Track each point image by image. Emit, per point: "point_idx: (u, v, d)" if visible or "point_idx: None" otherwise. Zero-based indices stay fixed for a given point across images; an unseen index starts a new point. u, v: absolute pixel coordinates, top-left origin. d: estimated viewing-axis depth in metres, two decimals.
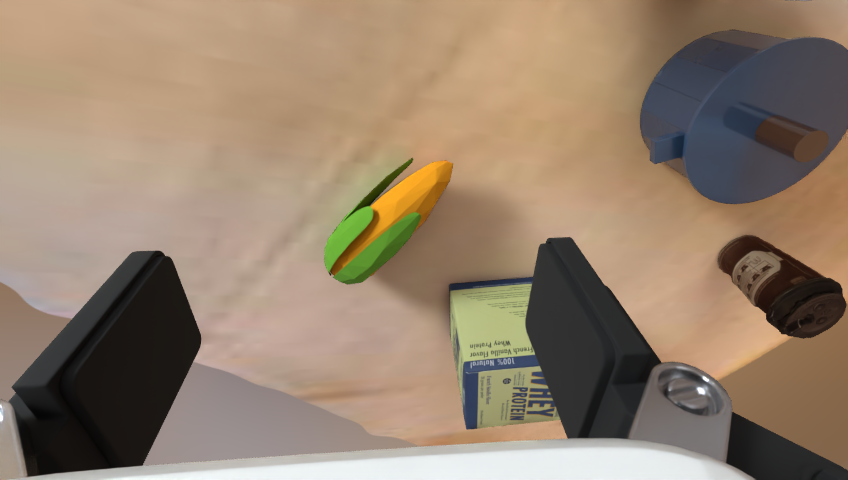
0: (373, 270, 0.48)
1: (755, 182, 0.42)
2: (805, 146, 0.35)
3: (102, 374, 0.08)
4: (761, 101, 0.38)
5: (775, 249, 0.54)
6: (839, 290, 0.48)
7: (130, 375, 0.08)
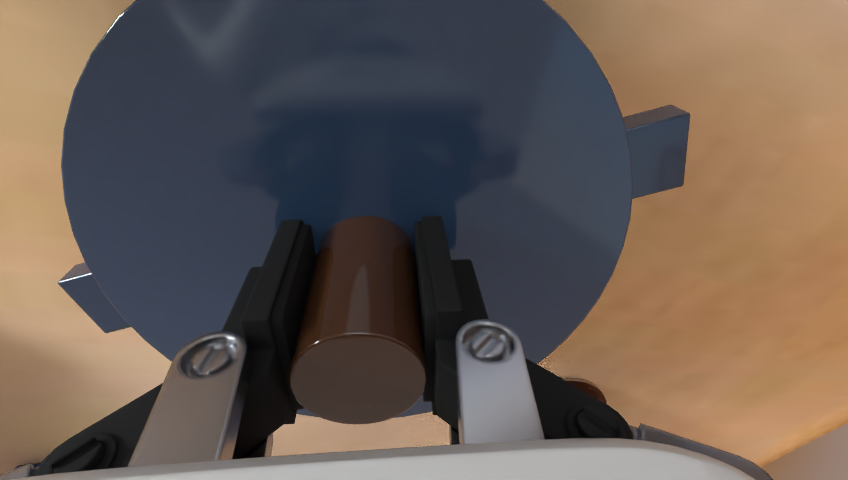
0: None
1: None
2: (330, 383, 0.09)
3: (291, 316, 0.09)
4: (277, 176, 0.11)
5: None
6: None
7: (300, 322, 0.10)
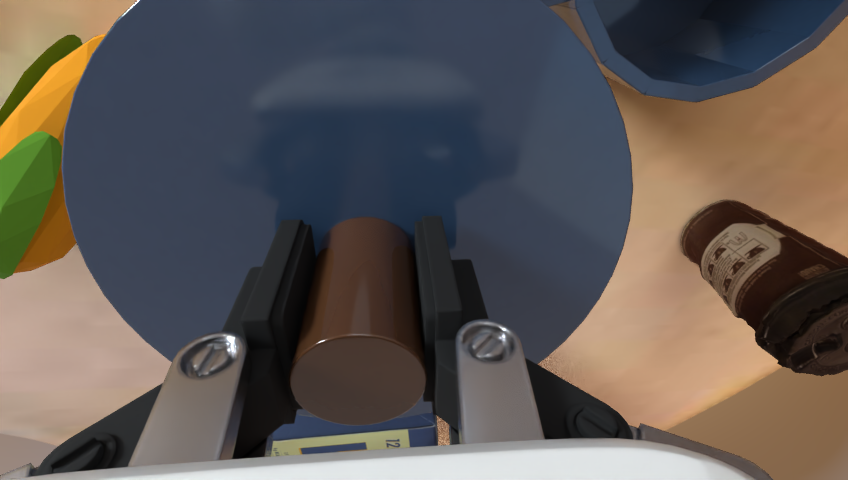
0: (15, 252, 0.25)
1: None
2: (331, 385, 0.09)
3: (291, 317, 0.09)
4: (277, 177, 0.11)
5: (772, 220, 0.32)
6: None
7: (300, 322, 0.10)
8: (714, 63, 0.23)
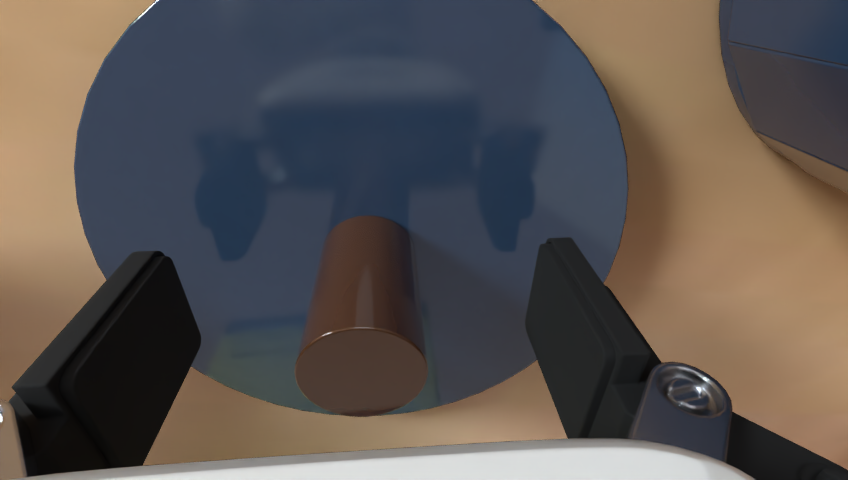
0: None
1: None
2: (335, 376, 0.09)
3: (102, 374, 0.08)
4: (283, 177, 0.11)
5: None
6: None
7: (130, 375, 0.08)
8: None
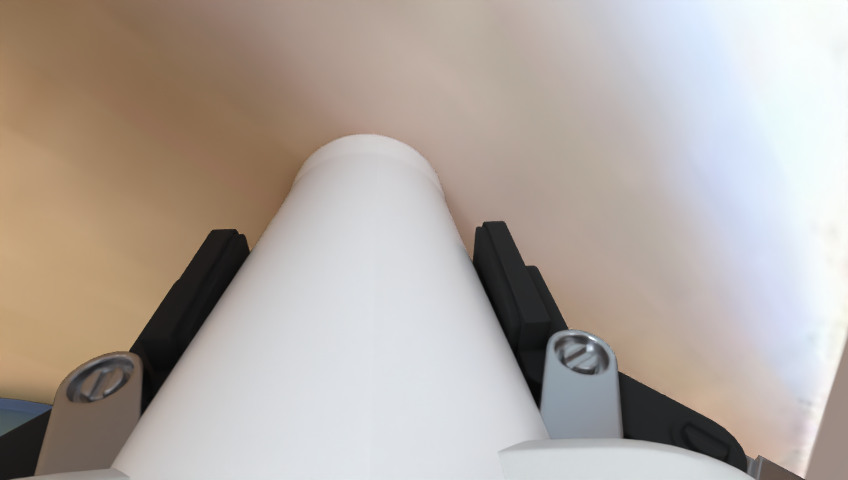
0: None
1: None
2: None
3: None
4: None
5: None
6: None
7: None
8: None
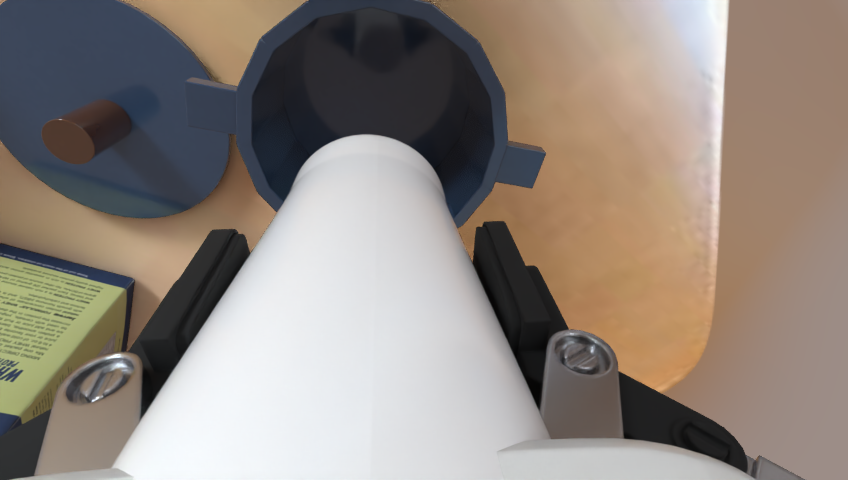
0: None
1: (114, 189, 0.32)
2: (57, 138, 0.25)
3: None
4: (78, 69, 0.27)
5: None
6: None
7: None
8: None
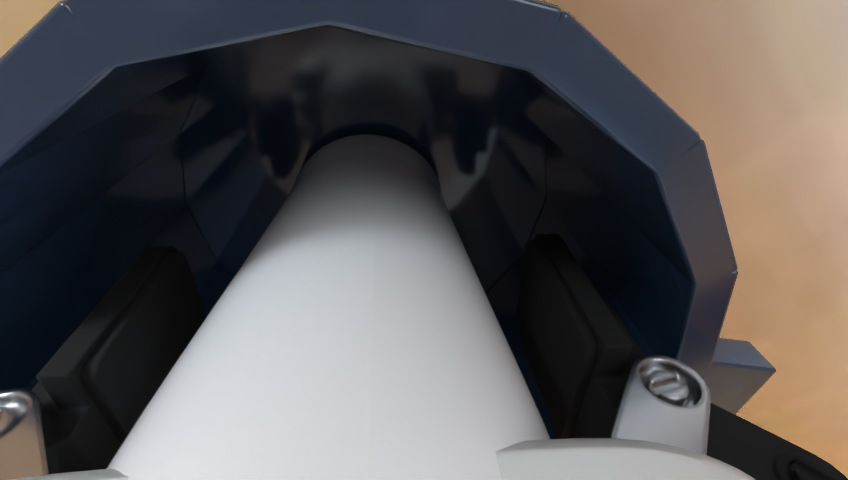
0: None
1: None
2: None
3: (121, 365, 0.08)
4: None
5: None
6: None
7: (146, 367, 0.08)
8: None
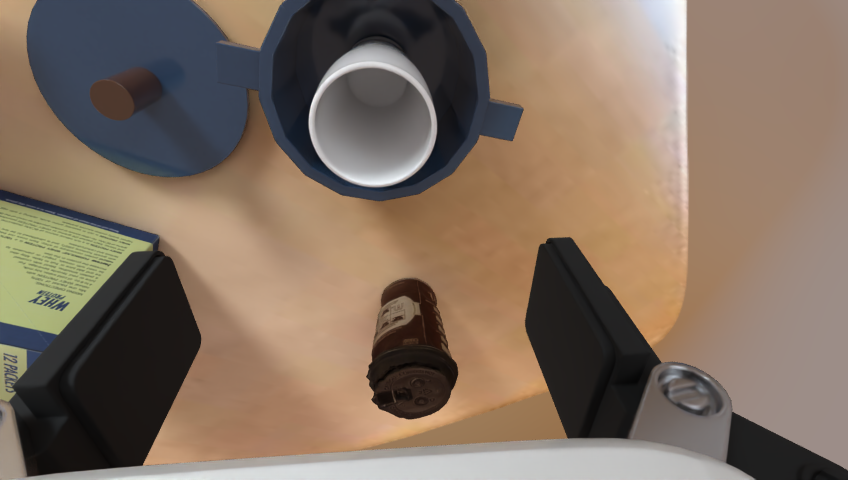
0: None
1: (145, 149, 0.36)
2: (103, 96, 0.29)
3: (102, 374, 0.08)
4: (117, 39, 0.31)
5: (428, 303, 0.44)
6: (448, 370, 0.38)
7: (130, 375, 0.08)
8: None
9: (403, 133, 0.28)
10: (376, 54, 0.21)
